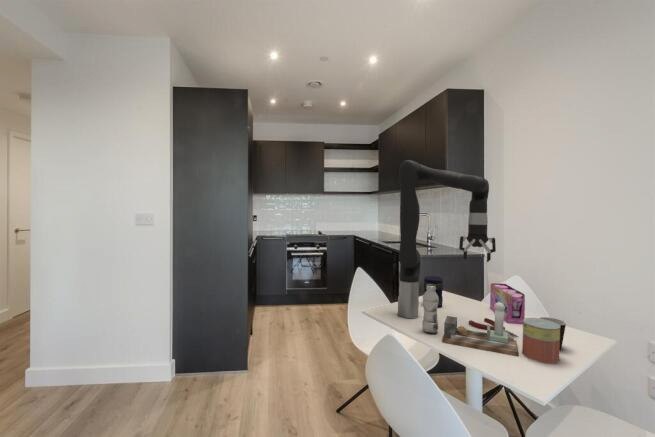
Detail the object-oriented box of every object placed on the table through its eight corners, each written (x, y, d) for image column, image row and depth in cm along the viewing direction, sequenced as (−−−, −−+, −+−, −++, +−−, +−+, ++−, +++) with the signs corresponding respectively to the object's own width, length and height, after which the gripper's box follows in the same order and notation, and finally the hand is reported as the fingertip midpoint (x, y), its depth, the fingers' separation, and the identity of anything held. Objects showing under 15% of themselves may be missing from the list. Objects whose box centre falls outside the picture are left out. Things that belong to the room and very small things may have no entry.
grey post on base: (486, 343, 124) (487, 303, 123) (486, 336, 130) (487, 298, 129) (507, 346, 121) (509, 306, 120) (507, 340, 127) (508, 301, 126)
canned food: (528, 346, 125) (529, 315, 125) (563, 357, 117) (564, 323, 116) (517, 355, 118) (518, 322, 117) (554, 366, 109) (555, 331, 109)
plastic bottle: (430, 336, 135) (431, 287, 134) (418, 330, 141) (419, 284, 140) (441, 333, 138) (442, 286, 137) (429, 328, 144) (430, 282, 143)
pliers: (505, 342, 130) (505, 335, 130) (467, 325, 149) (467, 319, 149) (526, 338, 135) (526, 332, 135) (486, 322, 153) (486, 316, 153)
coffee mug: (566, 353, 120) (566, 326, 119) (538, 348, 124) (538, 322, 124) (563, 342, 129) (564, 317, 129) (537, 337, 134) (538, 313, 134)
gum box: (526, 325, 149) (527, 295, 148) (508, 324, 150) (508, 294, 149) (505, 309, 173) (505, 283, 172) (489, 308, 174) (490, 283, 173)
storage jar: (420, 303, 182) (421, 276, 181) (437, 302, 183) (438, 276, 182) (428, 308, 172) (428, 280, 171) (445, 308, 173) (446, 280, 172)
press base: (442, 342, 128) (442, 323, 128) (445, 332, 139) (446, 314, 139) (518, 356, 117) (519, 335, 117) (516, 344, 128) (516, 325, 127)
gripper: (459, 223, 141) (458, 260, 141) (496, 224, 134) (495, 263, 135) (460, 222, 147) (459, 258, 148) (496, 223, 141) (495, 261, 142)
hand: (476, 260), depth 141 cm, fingers open, 8 cm apart
